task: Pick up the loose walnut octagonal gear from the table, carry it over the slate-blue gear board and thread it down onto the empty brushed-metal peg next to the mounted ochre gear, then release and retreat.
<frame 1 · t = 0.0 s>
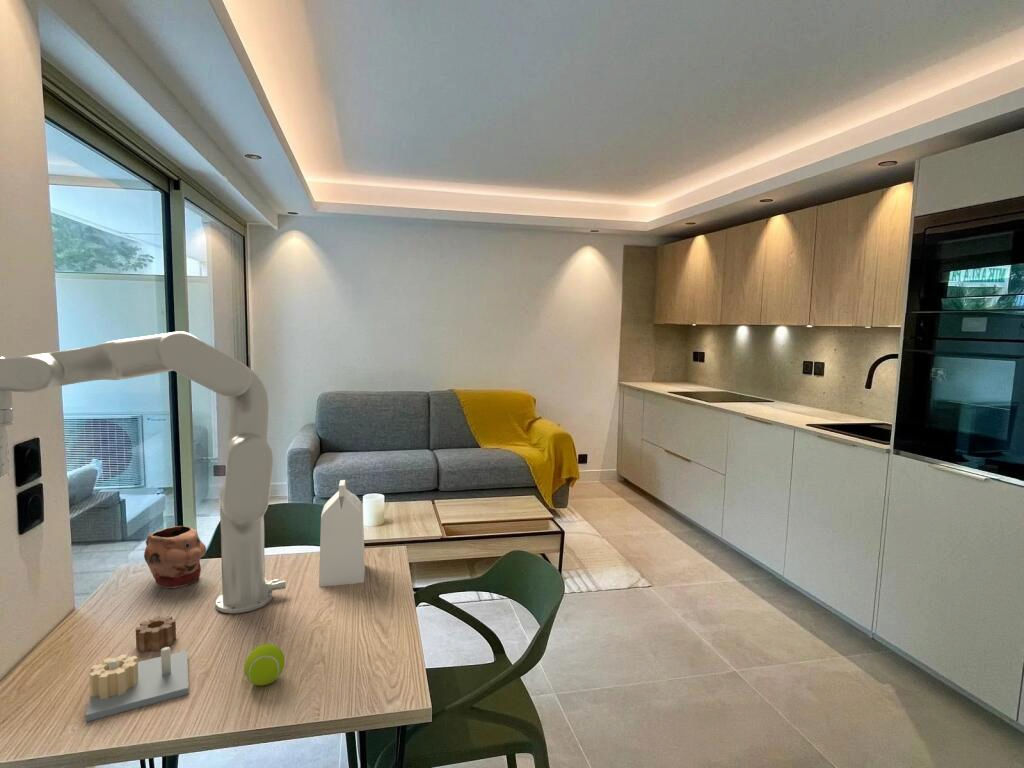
decorative planter: (173, 581, 148), on the table
milk: (342, 575, 153), on the table
gear board: (141, 685, 104), on the table
tennis ball: (265, 683, 106), on the table
walnut gear: (156, 642, 118), on the table
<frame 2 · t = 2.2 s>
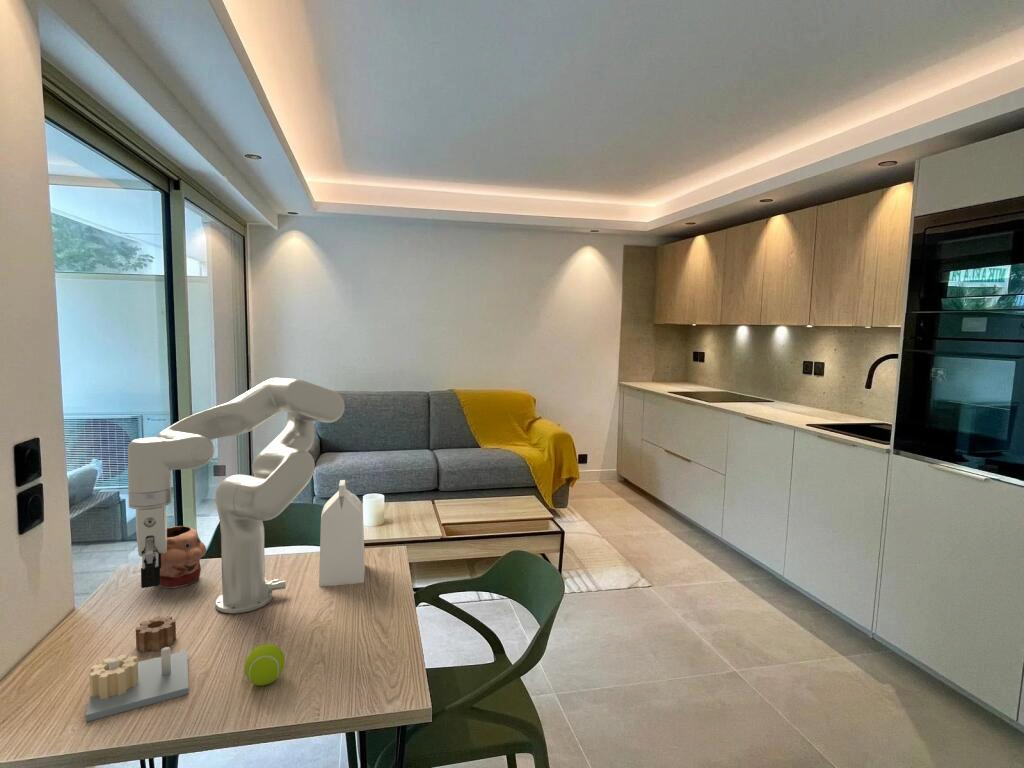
hand: (151, 577, 117), 14 cm above the table, fingers open, 9 cm apart
nothing on the table moved.
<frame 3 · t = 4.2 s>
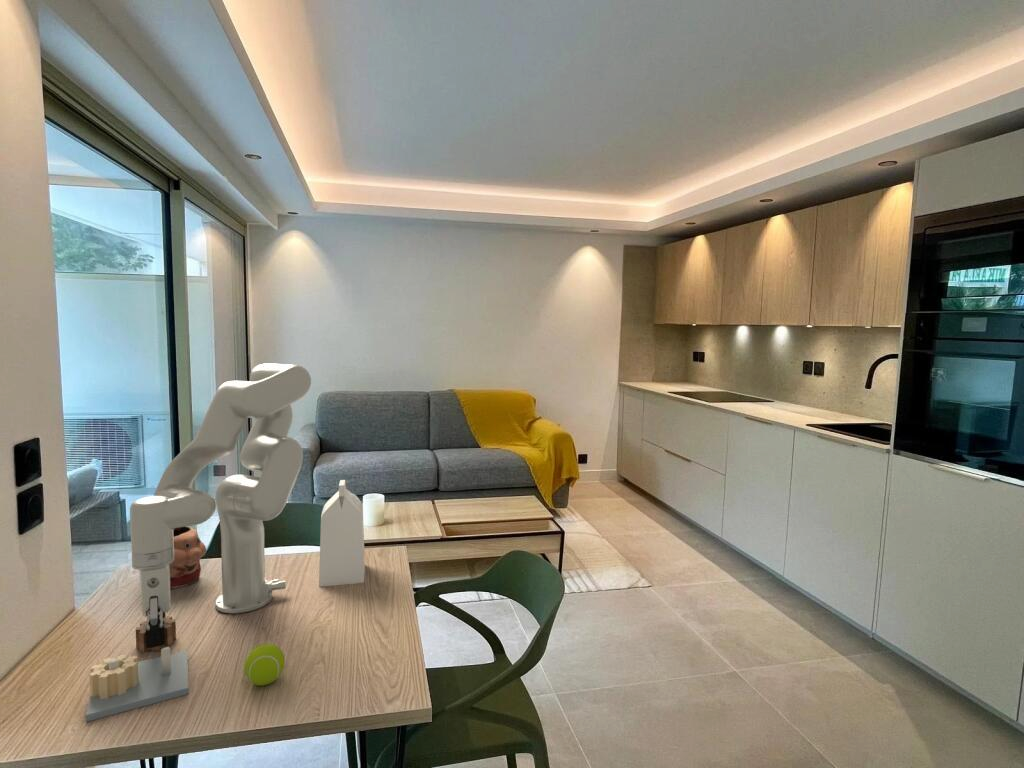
hand: (156, 636, 118), 1 cm above the table, fingers closed on walnut gear, 7 cm apart
walnut gear: (156, 642, 118), on the table, touching gripper
everything else where it was.
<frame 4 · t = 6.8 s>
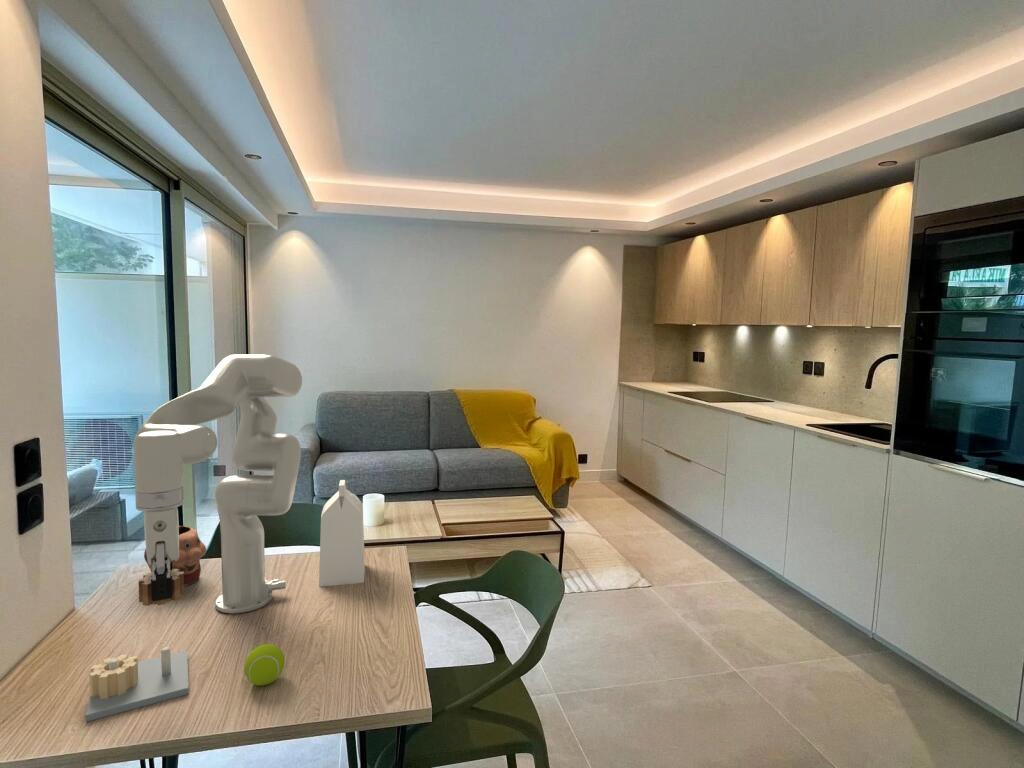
hand: (162, 590, 104), 18 cm above the table, fingers closed on walnut gear, 7 cm apart
walnut gear: (162, 597, 104), point 16 cm above the table, touching gripper
everything else where it was.
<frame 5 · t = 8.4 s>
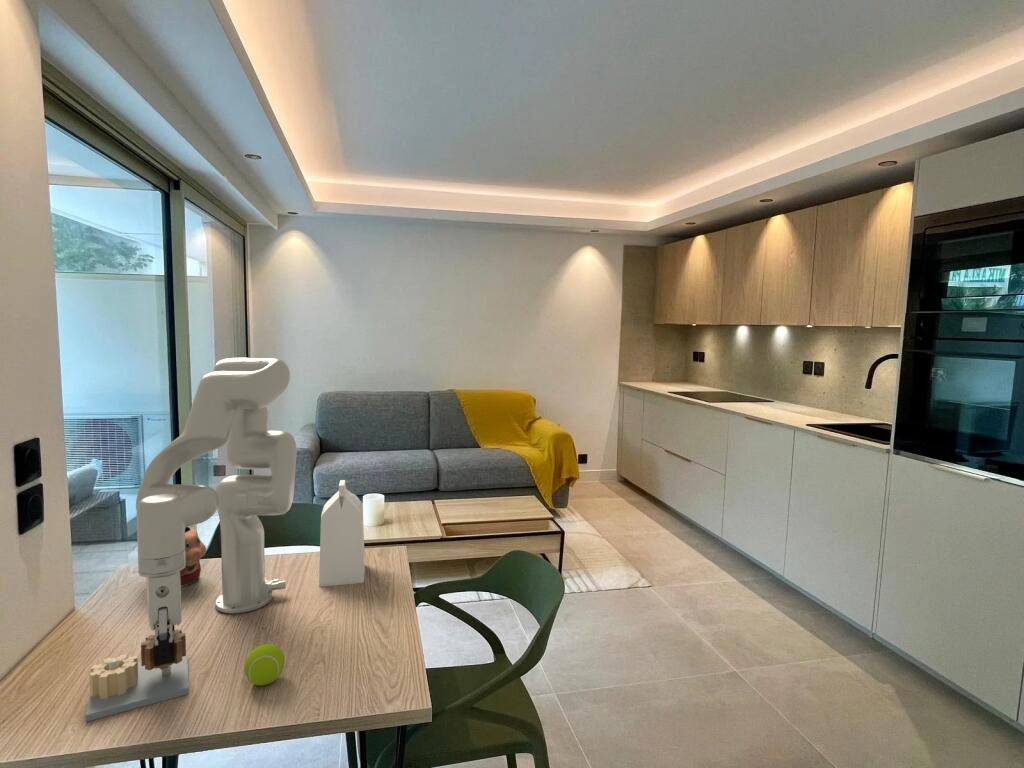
hand: (164, 652, 105), 5 cm above the table, fingers closed on walnut gear, 7 cm apart
walnut gear: (164, 659, 105), point 4 cm above the table, touching gripper
everything else where it was.
when the fingers open (4 cm above the table, at t = 9.6 s): walnut gear drops 1 cm, resting on gear board.
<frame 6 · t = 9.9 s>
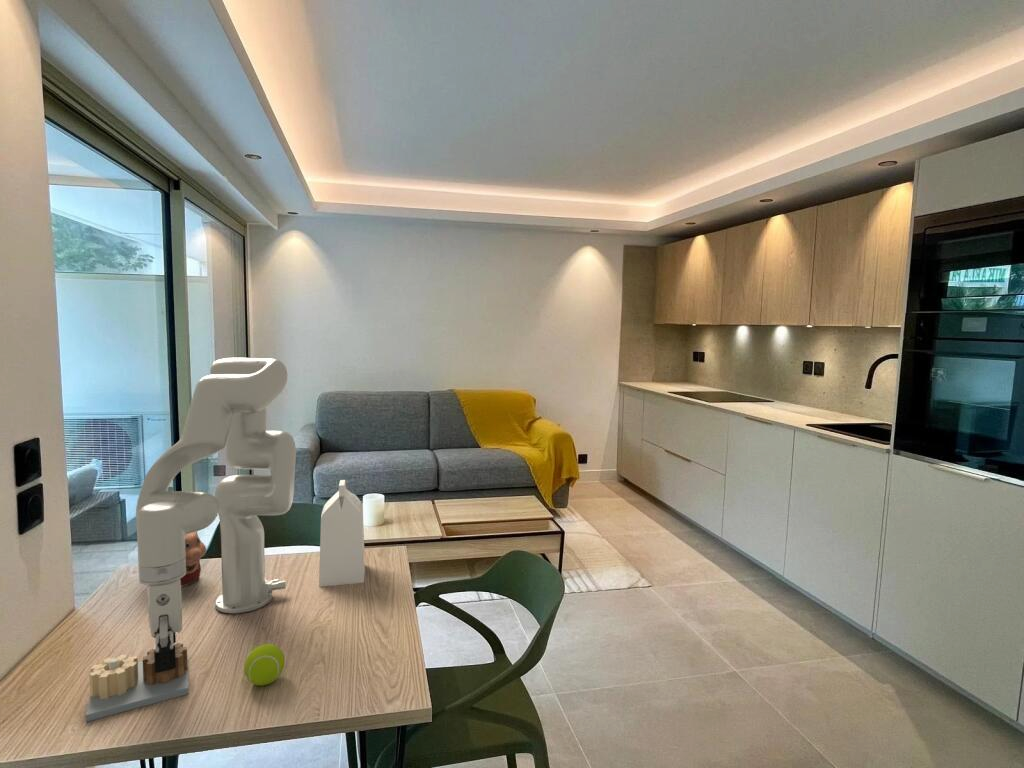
hand: (165, 656, 106), 4 cm above the table, fingers open, 9 cm apart
walnut gear: (165, 673, 106), point 1 cm above the table, touching gear board
everything else where it was.
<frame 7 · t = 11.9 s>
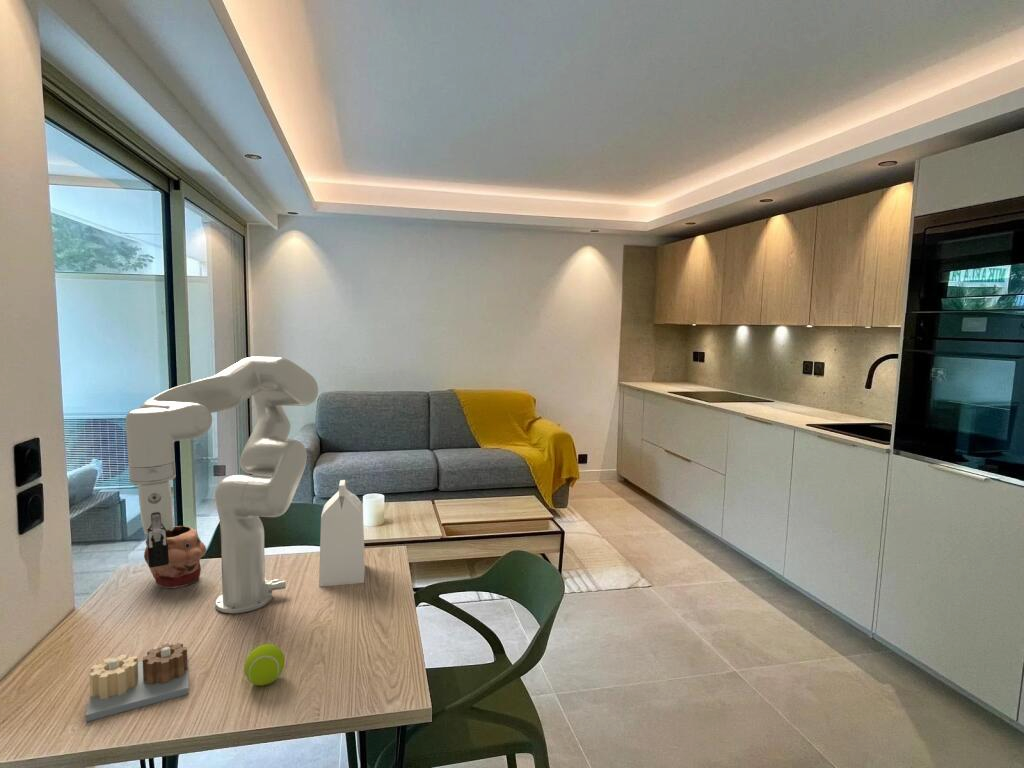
hand: (158, 556, 110), 22 cm above the table, fingers open, 9 cm apart
nothing on the table moved.
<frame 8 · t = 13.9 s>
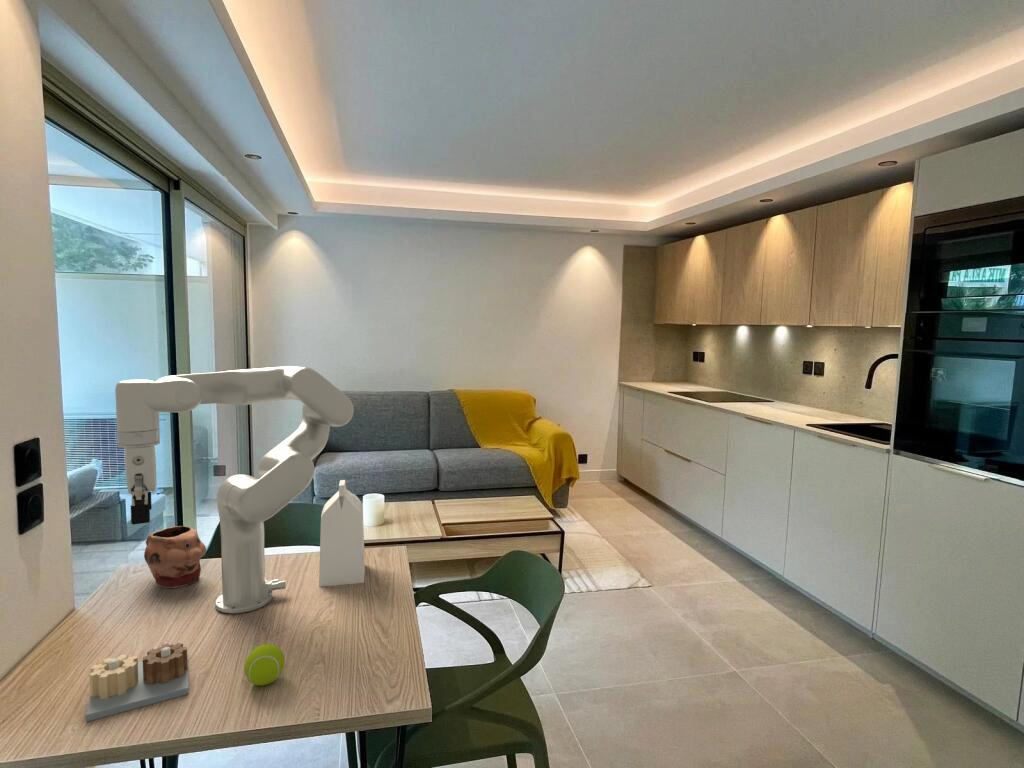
hand: (141, 516, 120), 26 cm above the table, fingers open, 9 cm apart
nothing on the table moved.
at the end: walnut gear 0.1 cm from the target spot, point 1.2 cm above the table; the gripper is holding nothing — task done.
